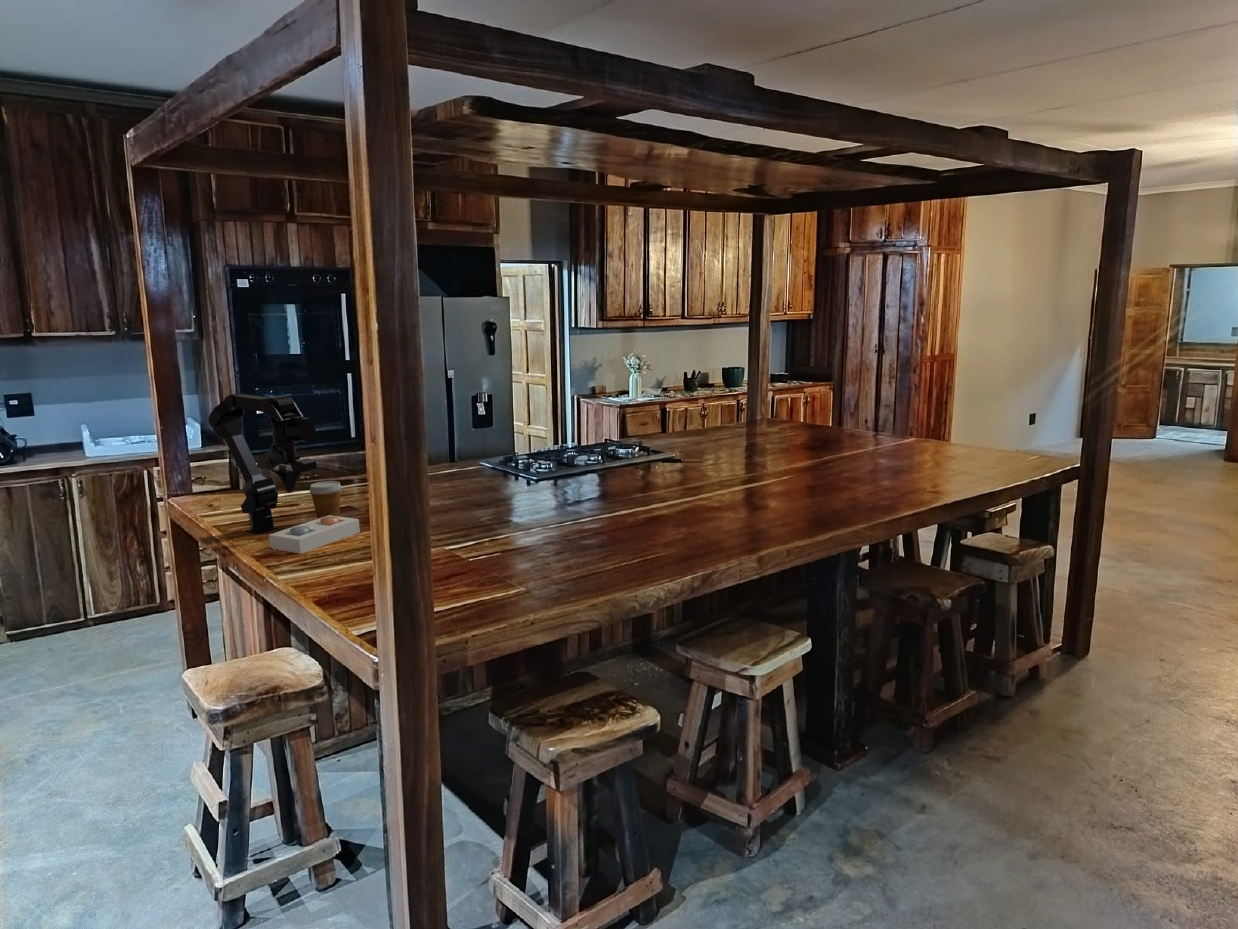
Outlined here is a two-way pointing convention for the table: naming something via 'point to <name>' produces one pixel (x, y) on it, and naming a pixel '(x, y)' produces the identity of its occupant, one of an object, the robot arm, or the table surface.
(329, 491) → the disposable coffee cup
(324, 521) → the terracotta button
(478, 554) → the table surface
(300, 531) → the slate-grey button
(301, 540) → the button panel
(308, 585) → the table surface
